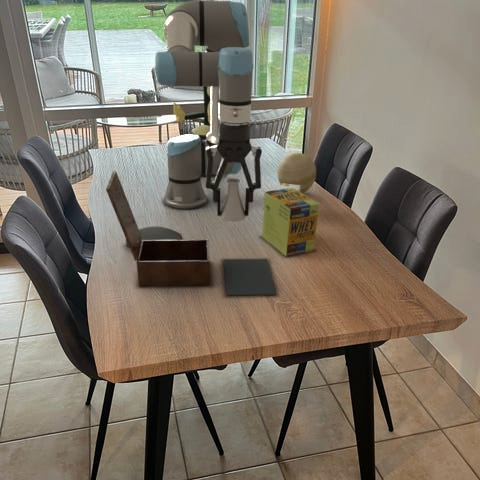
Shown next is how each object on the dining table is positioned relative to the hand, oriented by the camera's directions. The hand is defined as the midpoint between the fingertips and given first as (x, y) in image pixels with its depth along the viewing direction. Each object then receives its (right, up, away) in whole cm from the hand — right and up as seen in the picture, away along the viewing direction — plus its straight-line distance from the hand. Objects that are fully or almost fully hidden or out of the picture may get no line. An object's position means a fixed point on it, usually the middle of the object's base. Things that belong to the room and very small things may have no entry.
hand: (232, 213), depth 133 cm
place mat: (+4, -16, +11) cm, 19 cm away
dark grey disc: (-25, -4, +26) cm, 36 cm away
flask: (0, -1, +1) cm, 1 cm away
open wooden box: (-16, -15, +11) cm, 25 cm away
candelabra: (-12, +37, +87) cm, 96 cm away
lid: (-28, -1, 0) cm, 28 cm away
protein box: (+17, -4, +29) cm, 34 cm away
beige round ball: (+24, +23, +68) cm, 75 cm away
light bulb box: (+19, +8, +46) cm, 50 cm away
